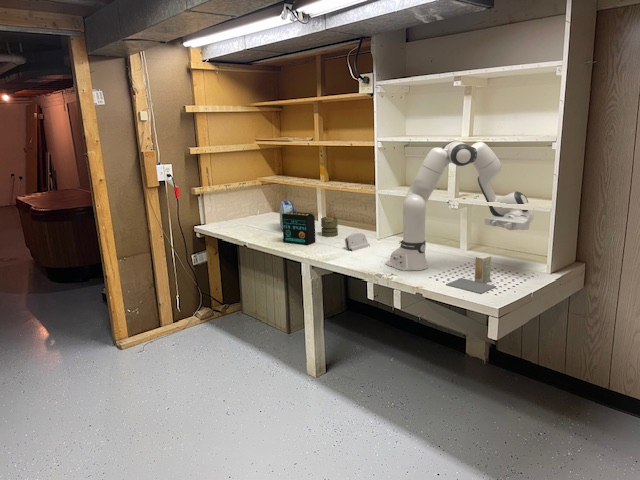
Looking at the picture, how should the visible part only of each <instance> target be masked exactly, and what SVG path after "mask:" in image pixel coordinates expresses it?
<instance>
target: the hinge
mask: <svg viewBox="0 0 640 480" xmlns="http://www.w3.org/2000/svg"><path fill="white" fill-rule="evenodd" d="M344 243H345V249H346V251H348V250H351V252H355V251H358V250H362V249H366V248H369V247H371V245H370V243H369V242H368V238H367V236H366V234H365V233H361V232H360V233H359V232H357V233H353V234H350V235H348V236H347V237H346V238H345V239H344ZM368 246H369V247H368Z"/></svg>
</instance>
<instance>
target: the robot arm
mask: <svg viewBox="0 0 640 480" xmlns="http://www.w3.org/2000/svg"><path fill="white" fill-rule="evenodd" d="M449 164H453V165H455V166H458V167H465V166H466V165H470V164H472V165H473V166H474V167H475V169H476V171H477V172H478V177H477V183H478V186H479V188H480V190H481V192H482V195H483V196H484V198H485V201H486V203H487V202H500V203H506V204H525V203H529V201H528V197H526V195H525V194H523V193H522V192H520V191H517V190H516V191H513V192H511V193H508V194H506V195H504V196H501V197H497V195H496V194H495V191H494V189H493V188H492V186H491V185H492V182H493V181H494V180H495V179H496V178H497V177H498V176H499V174H500V172H501V170H502V164H501V161H500V159H499V158H498V156H497V155H496V154H495V152H494V151H493V150H492V149H491V148H490V146H488V144H487V143H485V142H483V141H478V142H475V143H473V144H472V145H469V144H467V143H465V142H464V141H460V140H451V141H449V142H448V143H446V144H445V145H443V147H433V148H432V149H430V151H429V152H428V153H427V155H426V156H425V158H424V159H423V162H422V163H421V165H420V167H419V170H418V172H417V174H416V175H415V178H414V180H413V182H412V183H411V185H410V187H409V189H408V191H407V193H406V195H405V196H404V199H403V205H402V206H403V208H402V209H403V210H402V215H403V216H402V217H403V220H402V224H403V225H402V227H403V229H402V240H400V241H399V242H398V244H400V246H399V247H398V248H396V249H394V250H393V251H392V252H391V253H390V256H389V260H387V261H386V262H385V265H387V266H388V265H389V267H391V266H392V268H394V269H398V270H399V271H403V272H404V271H421V270H422V271H423V270H426V269H427V268H428V263H427V260H426V239H425V238H426V209H427V208H426V204H427V202H428V200H429V199H430V197H431V195H432V194H433V192H434V190H435V189H436V186H437V185H438V183H439V181H440V178H441V177H442V174H443V172H444V170H445V168H446V167H447V166H448V165H449ZM488 207H489V211H490V212H489V213H491V214H492V216H487V217H485V219H484V225H486V226H491V227H498V228H502V229H507V230H509V231H514V230H515V231H517V230H519V231H520V230H521V231H526V230H529V229H530V224H531V223H532V222H533V220H534V213H533V211H532V210H531V211H528V210H521V209H513V208H502V207H493V206H489V205H488Z"/></svg>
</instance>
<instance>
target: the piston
mask: <svg viewBox="0 0 640 480" xmlns="http://www.w3.org/2000/svg"><path fill="white" fill-rule="evenodd" d="M320 223H321V225H320V227H321V228H320V229H321V237H325V238H332V237H333V238H334V237H338V236H339V233H338V232H339V230H338V229H339V228H338V225H339V223H338V216H337V217H336V216H334V217H333V219H327V217H326V216H323V217H320Z"/></svg>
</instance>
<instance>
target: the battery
mask: <svg viewBox="0 0 640 480" xmlns="http://www.w3.org/2000/svg"><path fill="white" fill-rule="evenodd" d="M315 216H316V215H314V212H313V211H309V212H299V211H296V212H293V211H290V212H287V213H286V214H285V213H284V214H282V221H283V230H282V240H283V243H285V244H295V245H303V246H310V245H313V244H315V243H316V220H315V219H316V218H315Z"/></svg>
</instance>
